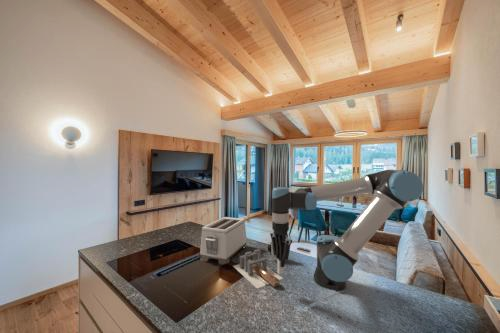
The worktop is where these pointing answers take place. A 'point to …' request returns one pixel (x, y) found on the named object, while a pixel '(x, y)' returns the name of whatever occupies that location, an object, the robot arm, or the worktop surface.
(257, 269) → the tube
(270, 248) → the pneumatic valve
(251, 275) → the board
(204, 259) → the toaster
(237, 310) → the worktop surface
